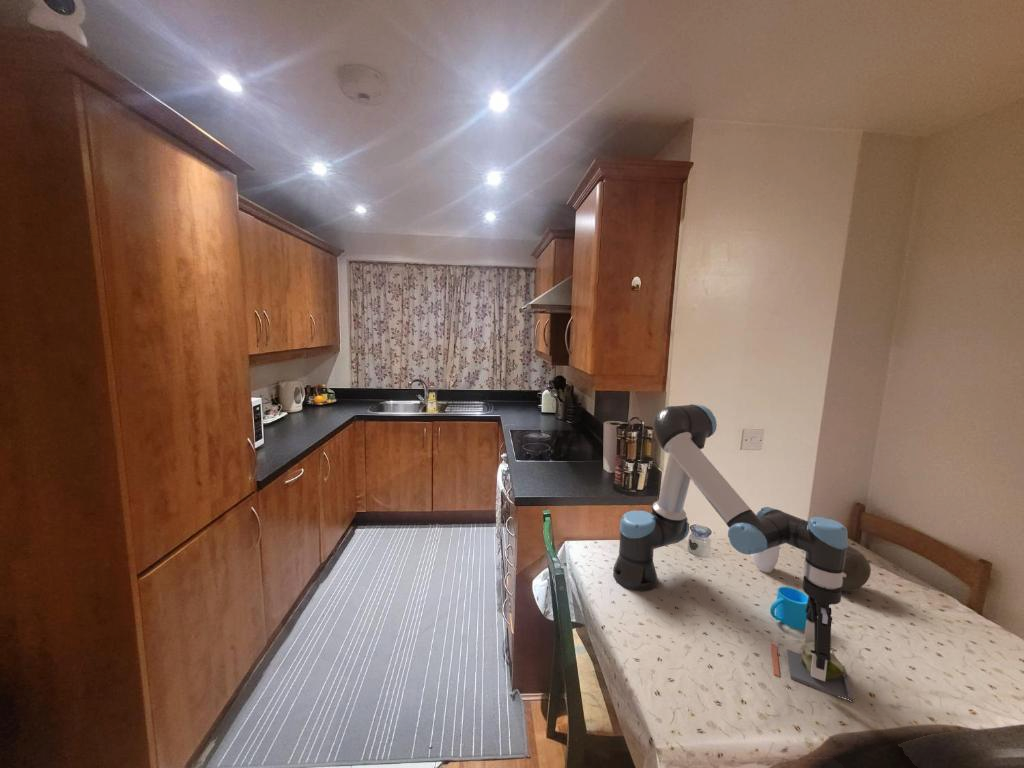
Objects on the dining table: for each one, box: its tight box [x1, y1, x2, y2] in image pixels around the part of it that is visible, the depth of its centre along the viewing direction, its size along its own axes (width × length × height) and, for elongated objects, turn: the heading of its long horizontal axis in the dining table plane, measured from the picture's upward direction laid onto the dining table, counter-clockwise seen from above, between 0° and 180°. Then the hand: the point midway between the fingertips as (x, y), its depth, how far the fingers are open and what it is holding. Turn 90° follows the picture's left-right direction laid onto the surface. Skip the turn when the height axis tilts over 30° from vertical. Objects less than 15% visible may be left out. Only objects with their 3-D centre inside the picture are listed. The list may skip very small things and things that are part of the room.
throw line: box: [770, 642, 781, 678], centre depth 101 cm, size 1×12×1 cm, turn 149°
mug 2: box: [769, 586, 808, 630], centre depth 116 cm, size 12×8×8 cm
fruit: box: [800, 642, 849, 679], centre depth 96 cm, size 9×9×8 cm
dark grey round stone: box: [841, 545, 872, 592], centre depth 132 cm, size 14×14×15 cm
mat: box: [786, 649, 855, 703], centre depth 96 cm, size 12×10×2 cm
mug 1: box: [750, 545, 781, 573], centre depth 144 cm, size 12×9×12 cm
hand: (813, 660), depth 97 cm, fingers open, 11 cm apart
